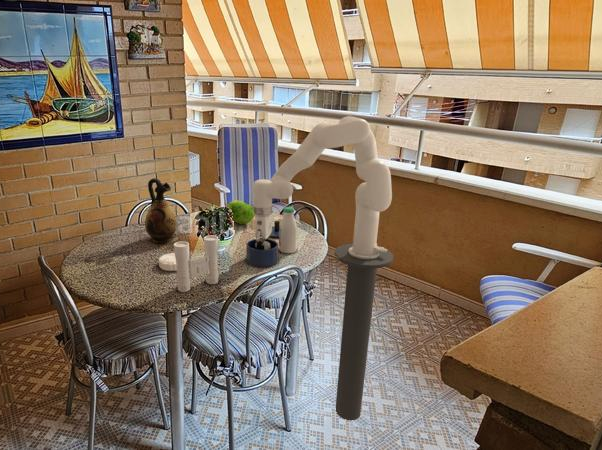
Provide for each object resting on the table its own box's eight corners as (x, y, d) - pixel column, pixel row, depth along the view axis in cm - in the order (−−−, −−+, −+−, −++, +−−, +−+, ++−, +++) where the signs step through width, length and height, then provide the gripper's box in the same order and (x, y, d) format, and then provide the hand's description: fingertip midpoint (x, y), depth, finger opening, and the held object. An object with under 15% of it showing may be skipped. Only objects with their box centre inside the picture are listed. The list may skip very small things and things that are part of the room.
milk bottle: (299, 250, 184) (301, 207, 177) (289, 255, 178) (290, 211, 172) (285, 245, 189) (287, 204, 182) (275, 250, 184) (276, 208, 177)
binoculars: (180, 293, 148) (177, 248, 142) (174, 287, 153) (171, 243, 147) (221, 282, 156) (220, 238, 150) (215, 276, 160) (214, 234, 154)
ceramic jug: (184, 237, 202) (180, 177, 192) (164, 247, 190) (160, 184, 180) (157, 231, 211) (153, 174, 201) (137, 241, 198) (131, 180, 188)
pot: (280, 256, 177) (281, 240, 175) (273, 269, 166) (273, 252, 163) (251, 252, 182) (251, 237, 179) (242, 264, 170) (242, 248, 168)
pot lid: (293, 230, 208) (294, 218, 206) (287, 239, 196) (288, 227, 194) (266, 227, 213) (267, 215, 211) (259, 236, 201) (259, 224, 199)
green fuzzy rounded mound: (240, 214, 234) (240, 195, 230) (260, 226, 214) (260, 205, 210) (220, 218, 229) (219, 198, 225) (238, 230, 209) (237, 208, 205)
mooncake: (153, 266, 171) (152, 258, 170) (174, 256, 179) (173, 249, 178) (173, 274, 164) (172, 265, 162) (193, 263, 172) (193, 256, 171)
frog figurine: (251, 254, 174) (251, 239, 172) (265, 250, 177) (265, 235, 175) (260, 259, 169) (260, 243, 167) (273, 255, 172) (273, 239, 170)
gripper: (266, 217, 157) (266, 259, 163) (277, 204, 173) (276, 244, 179) (247, 215, 160) (248, 257, 166) (259, 203, 175) (260, 242, 181)
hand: (262, 250), depth 172 cm, fingers closed on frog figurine, 6 cm apart
